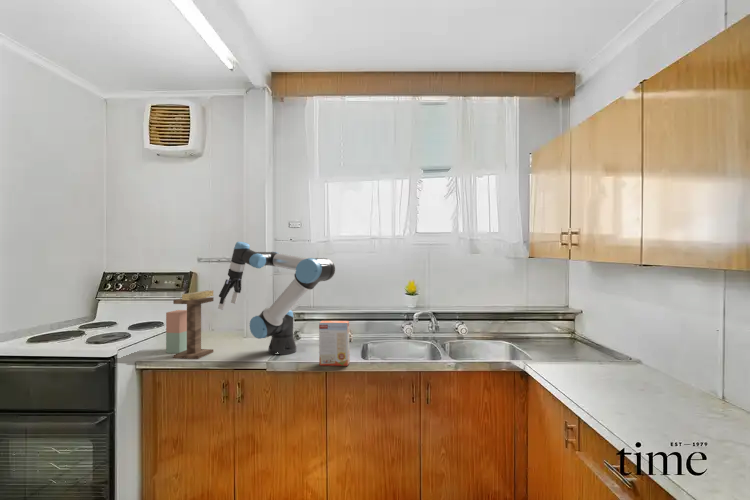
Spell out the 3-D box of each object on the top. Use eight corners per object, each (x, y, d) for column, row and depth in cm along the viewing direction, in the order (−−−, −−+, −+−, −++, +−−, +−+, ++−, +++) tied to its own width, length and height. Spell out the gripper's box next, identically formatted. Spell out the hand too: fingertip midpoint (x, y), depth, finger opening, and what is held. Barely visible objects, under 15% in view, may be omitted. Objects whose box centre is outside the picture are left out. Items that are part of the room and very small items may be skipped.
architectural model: (350, 343, 237) (350, 331, 238) (340, 342, 240) (340, 330, 240) (352, 342, 241) (352, 330, 241) (342, 341, 243) (342, 329, 243)
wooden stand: (213, 352, 215) (213, 297, 215) (197, 358, 201) (198, 300, 202) (190, 351, 217) (190, 297, 218) (173, 357, 203) (173, 300, 204)
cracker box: (349, 363, 193) (349, 320, 193) (347, 366, 187) (347, 322, 187) (321, 362, 194) (321, 320, 195) (318, 365, 188) (318, 322, 189)
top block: (190, 329, 223) (190, 310, 223) (179, 333, 213) (179, 312, 213) (178, 329, 224) (178, 309, 224) (166, 332, 214) (166, 312, 214)
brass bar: (213, 295, 224) (213, 290, 224) (189, 300, 202) (189, 294, 202) (206, 295, 225) (206, 290, 225) (182, 300, 203) (182, 294, 203)
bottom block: (190, 348, 223) (190, 329, 223) (179, 353, 213) (179, 333, 213) (178, 348, 224) (178, 329, 224) (166, 352, 214) (166, 332, 214)
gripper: (240, 264, 226) (232, 298, 229) (217, 271, 202) (208, 309, 205) (252, 268, 226) (243, 302, 229) (231, 275, 201) (221, 313, 204)
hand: (227, 306), depth 217 cm, fingers open, 13 cm apart
